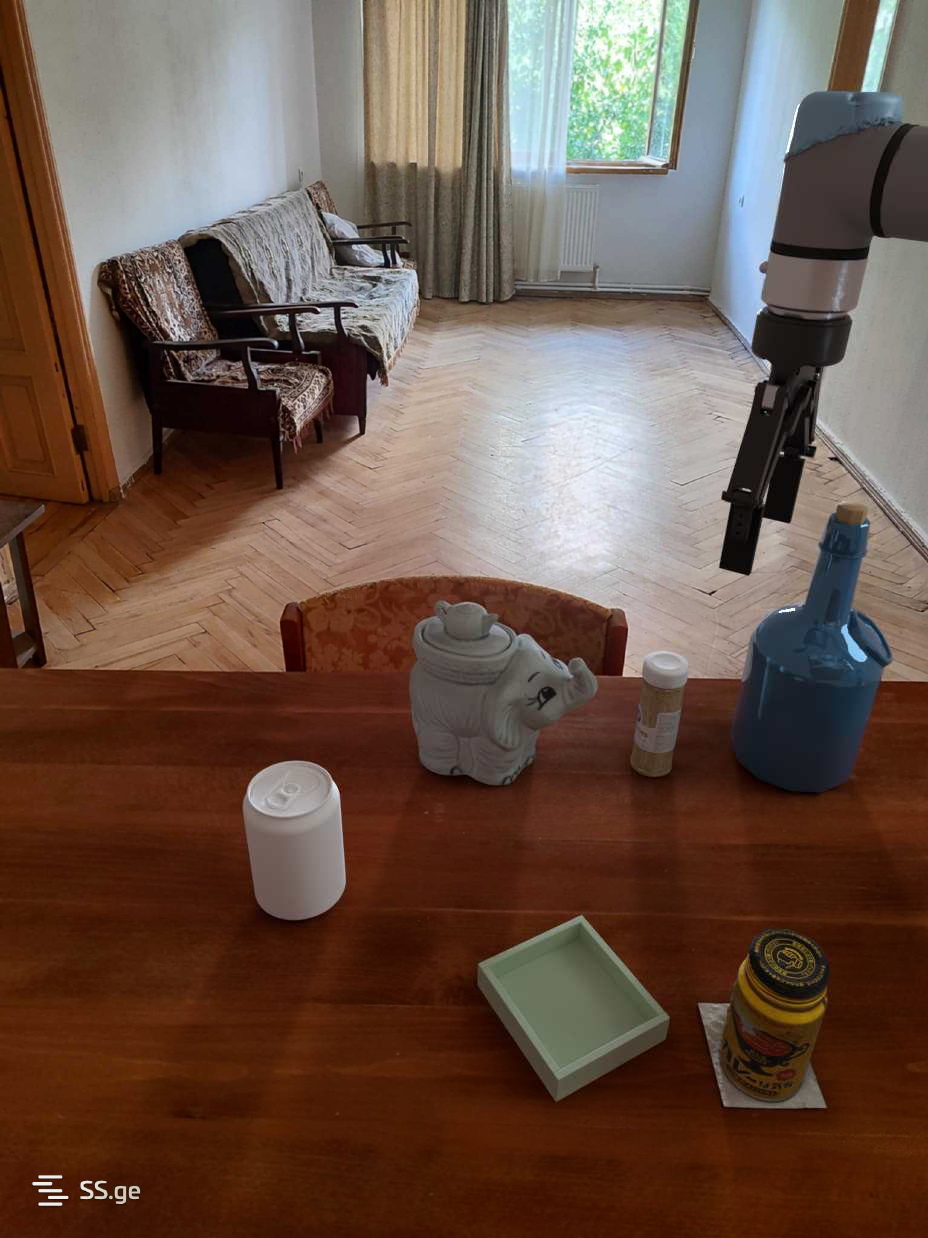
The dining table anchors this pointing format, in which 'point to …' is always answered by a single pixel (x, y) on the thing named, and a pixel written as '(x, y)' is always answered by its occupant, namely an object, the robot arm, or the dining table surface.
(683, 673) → the sprinkles bottle
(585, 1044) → the tray
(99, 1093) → the dining table surface
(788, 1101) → the condiment
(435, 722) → the elephant cookie jar
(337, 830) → the beverage can
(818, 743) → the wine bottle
